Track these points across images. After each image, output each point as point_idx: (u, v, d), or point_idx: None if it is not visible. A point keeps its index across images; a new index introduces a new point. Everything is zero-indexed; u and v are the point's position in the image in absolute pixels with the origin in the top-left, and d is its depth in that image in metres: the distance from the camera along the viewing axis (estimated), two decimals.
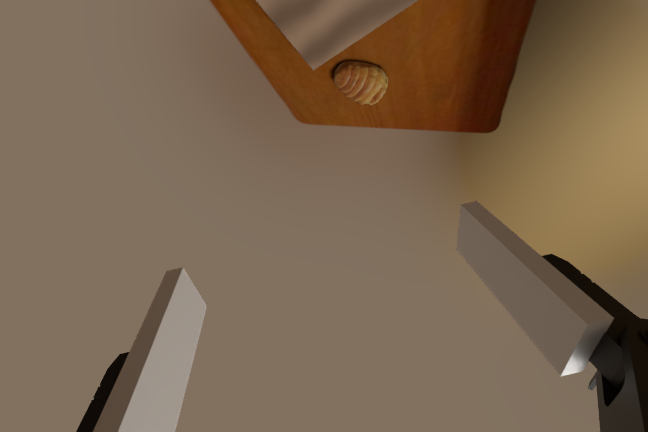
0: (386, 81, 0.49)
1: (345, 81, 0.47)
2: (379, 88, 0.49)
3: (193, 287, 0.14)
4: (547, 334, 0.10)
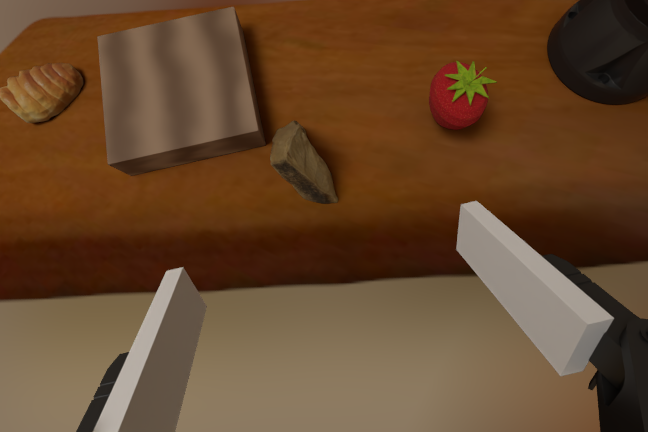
0: (24, 115, 0.38)
1: (57, 69, 0.39)
2: (19, 101, 0.38)
3: (193, 287, 0.14)
4: (547, 334, 0.10)
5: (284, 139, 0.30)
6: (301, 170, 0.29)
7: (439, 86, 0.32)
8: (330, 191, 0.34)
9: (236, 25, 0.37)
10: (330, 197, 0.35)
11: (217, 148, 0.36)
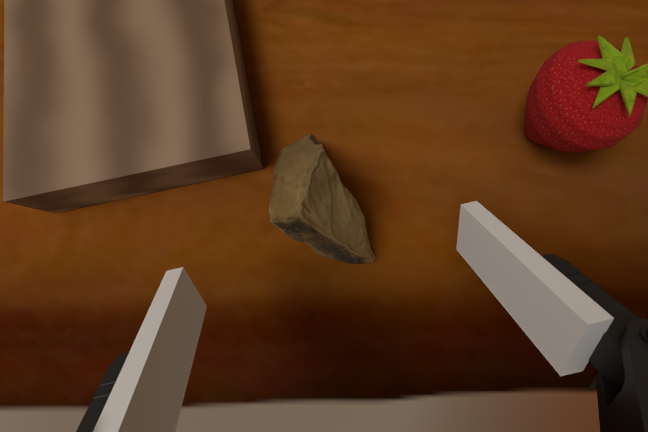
0: None
1: None
2: None
3: (193, 287, 0.14)
4: (547, 334, 0.10)
5: (295, 172, 0.16)
6: (325, 230, 0.16)
7: (562, 80, 0.18)
8: (366, 250, 0.21)
9: None
10: (366, 258, 0.22)
11: (186, 174, 0.23)
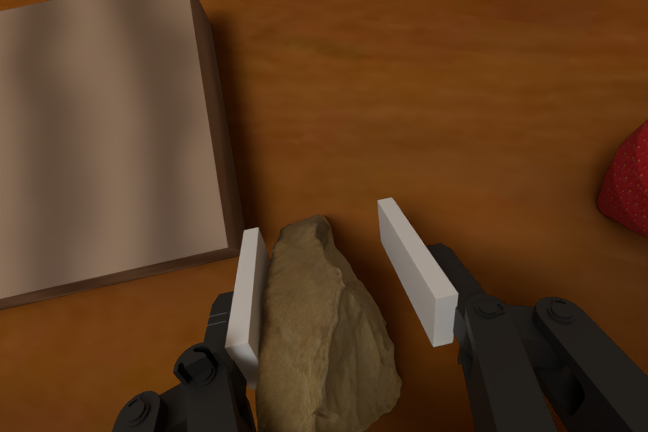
0: None
1: None
2: None
3: (265, 246, 0.15)
4: (423, 311, 0.11)
5: (299, 326, 0.10)
6: (350, 427, 0.10)
7: None
8: (395, 388, 0.15)
9: (189, 10, 0.18)
10: None
11: (142, 272, 0.17)
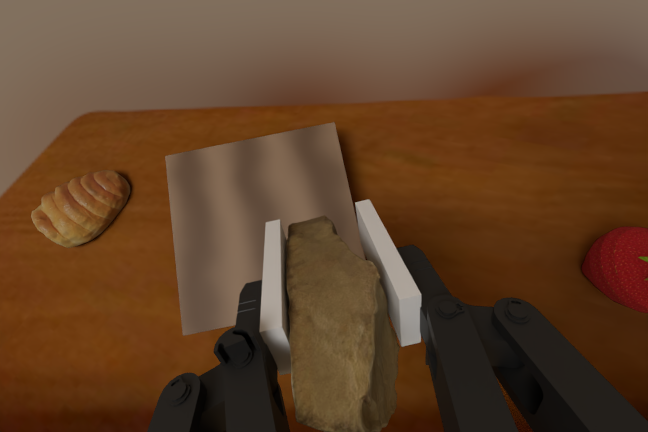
0: (64, 242, 0.31)
1: (101, 182, 0.32)
2: (58, 228, 0.31)
3: (285, 238, 0.16)
4: (392, 311, 0.11)
5: (336, 314, 0.10)
6: (380, 419, 0.09)
7: (624, 265, 0.24)
8: None
9: (339, 148, 0.30)
10: None
11: None
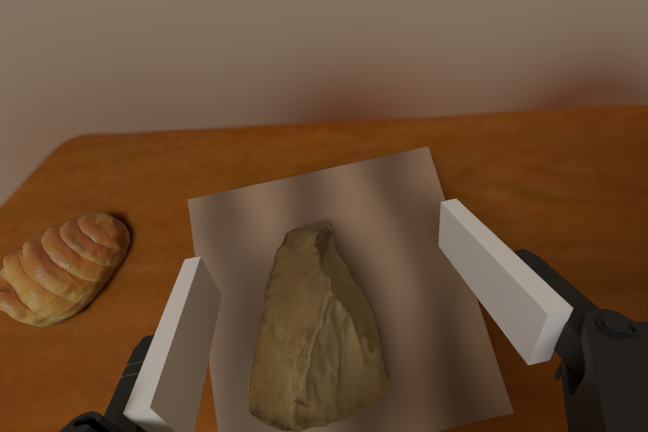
0: (38, 322, 0.22)
1: (89, 231, 0.23)
2: (28, 303, 0.21)
3: (209, 276, 0.14)
4: (516, 325, 0.10)
5: (290, 326, 0.11)
6: (328, 417, 0.11)
7: None
8: (380, 386, 0.16)
9: (438, 184, 0.21)
10: None
11: None
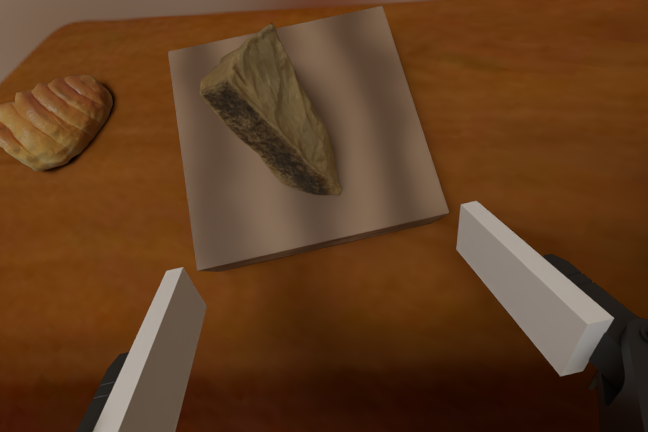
0: (31, 160, 0.24)
1: (74, 85, 0.25)
2: (22, 140, 0.24)
3: (193, 287, 0.14)
4: (547, 334, 0.10)
5: None
6: (267, 115, 0.14)
7: None
8: (328, 172, 0.19)
9: (390, 35, 0.24)
10: (328, 184, 0.19)
11: (367, 235, 0.22)
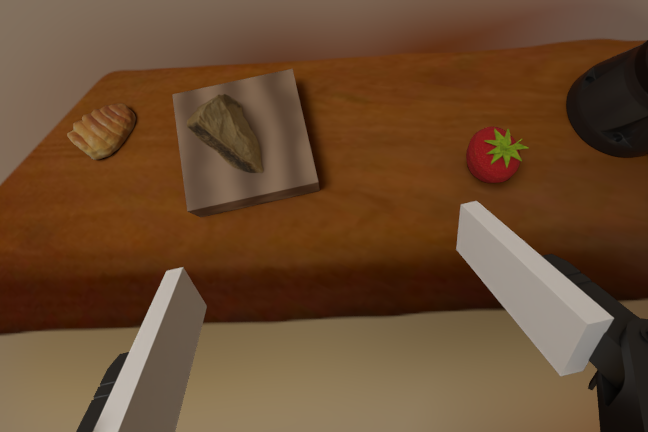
0: (93, 153, 0.43)
1: (115, 110, 0.44)
2: (88, 142, 0.43)
3: (193, 287, 0.14)
4: (547, 334, 0.10)
5: (203, 106, 0.33)
6: (215, 134, 0.33)
7: (479, 149, 0.37)
8: (252, 160, 0.38)
9: (295, 86, 0.43)
10: (253, 166, 0.38)
11: (279, 195, 0.41)
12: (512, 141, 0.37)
